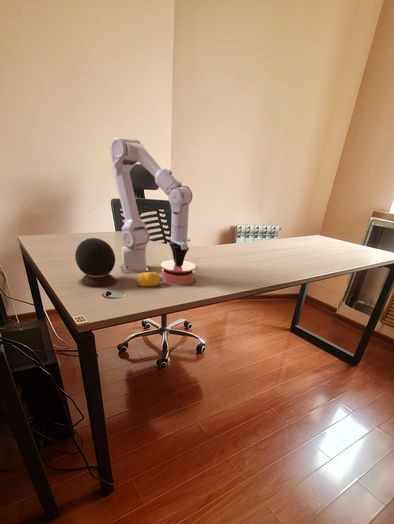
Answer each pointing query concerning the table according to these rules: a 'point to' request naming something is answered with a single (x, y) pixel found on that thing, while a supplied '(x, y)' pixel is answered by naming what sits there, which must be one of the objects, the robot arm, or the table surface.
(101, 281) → the dark ball on stand
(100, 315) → the table surface
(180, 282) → the pot
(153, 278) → the yellow rounded oblong piece
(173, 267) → the lid
